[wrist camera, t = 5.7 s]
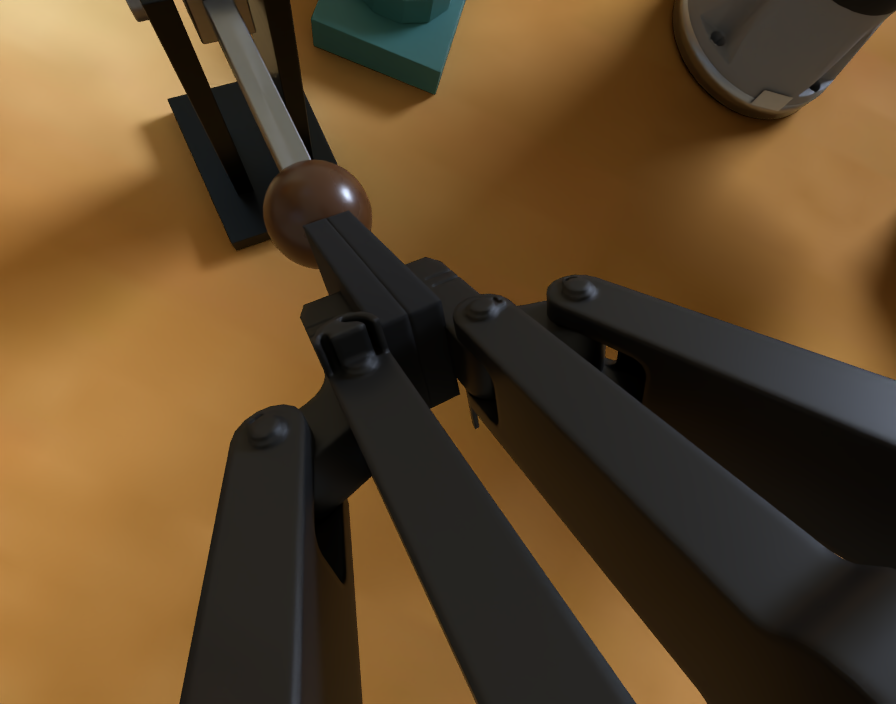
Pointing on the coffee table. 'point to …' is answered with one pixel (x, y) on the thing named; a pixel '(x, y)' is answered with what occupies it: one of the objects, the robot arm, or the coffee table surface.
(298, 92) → the bracket
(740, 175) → the coffee table surface
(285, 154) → the lever
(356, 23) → the button box
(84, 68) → the coffee table surface
